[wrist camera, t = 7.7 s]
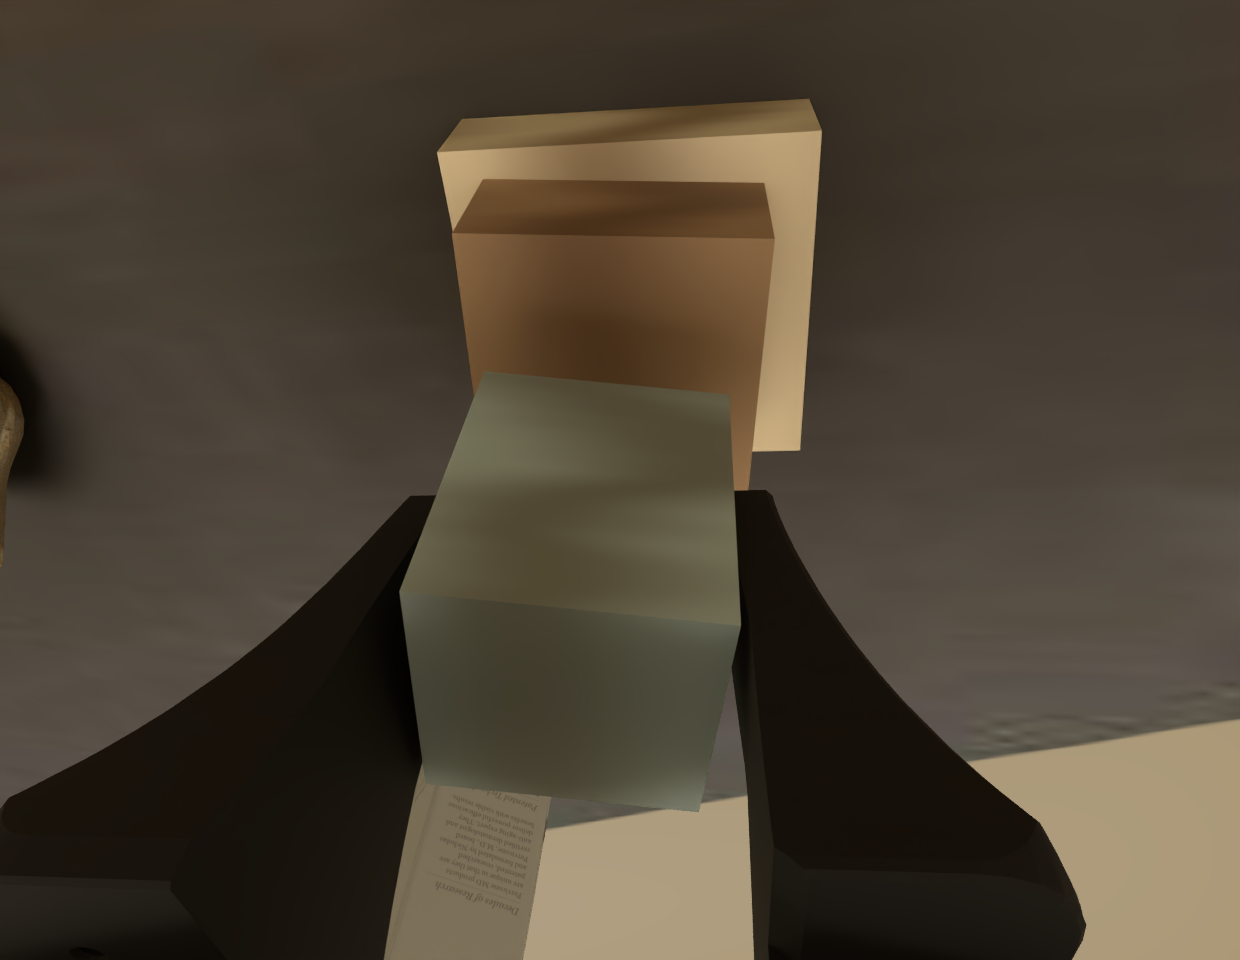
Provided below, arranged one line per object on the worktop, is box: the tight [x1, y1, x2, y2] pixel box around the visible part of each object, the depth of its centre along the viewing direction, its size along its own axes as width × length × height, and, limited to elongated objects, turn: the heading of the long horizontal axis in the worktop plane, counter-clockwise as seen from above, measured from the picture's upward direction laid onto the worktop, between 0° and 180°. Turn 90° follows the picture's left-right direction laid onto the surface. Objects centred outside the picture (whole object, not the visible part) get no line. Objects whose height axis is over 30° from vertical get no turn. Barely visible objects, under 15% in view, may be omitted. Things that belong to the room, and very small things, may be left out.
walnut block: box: [452, 179, 775, 491], centre depth 19 cm, size 6×6×3 cm
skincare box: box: [384, 762, 551, 960], centre depth 30 cm, size 6×4×12 cm
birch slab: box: [437, 99, 822, 451], centre depth 21 cm, size 8×8×3 cm
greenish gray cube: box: [399, 371, 741, 812], centre depth 13 cm, size 4×4×5 cm
